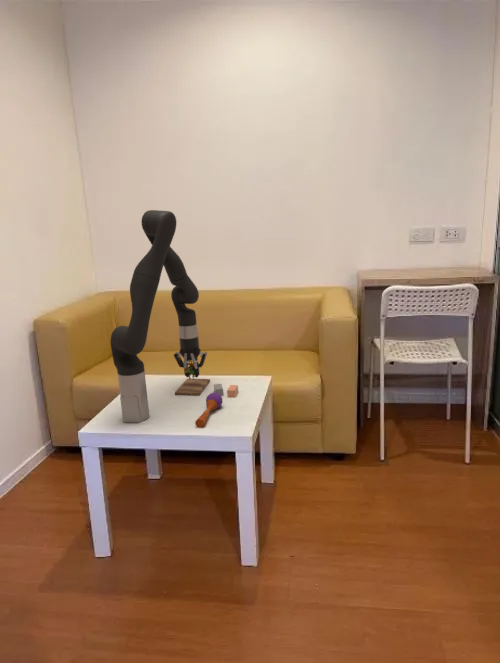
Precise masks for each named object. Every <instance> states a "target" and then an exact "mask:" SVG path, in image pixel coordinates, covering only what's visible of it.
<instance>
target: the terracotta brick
mask: <svg viewBox="0 0 500 663" xmlns="http://www.w3.org/2000/svg"><path fill="white" fill-rule="evenodd" d="M238 393H239V385H238V384H230V385H229V387H228V388H227V390H226V394H227V398H236V396H237V395H238Z"/></svg>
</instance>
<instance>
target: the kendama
mask: <svg viewBox="0 0 500 663" xmlns="http://www.w3.org/2000/svg"><path fill="white" fill-rule="evenodd" d="M205 401H206V402H205V404H206V410H204V411H203V413H202V414H201V415H200V416H199V417H197V419H196V420H195V423H194V424H195V426H196V427H197V428H204V427H205V425H206V422H207V419H208V416H209V415H210V412H211V411H214V410H217V409H219V408H220V407H221V406H222V404H223V396H221V395H220V394H218V393H215V392H211V393H209V394H208V395H207V396H206V399H205Z"/></svg>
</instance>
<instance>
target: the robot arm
mask: <svg viewBox="0 0 500 663" xmlns="http://www.w3.org/2000/svg"><path fill="white" fill-rule="evenodd" d="M140 223H141V228H142V230H143V232H144V234H145V236H146V238H147V239H148V241H149V242H150V244H151V247H150V249H149V250H148V251H147V253H146V254H145V255H144V256H143V257H142V258H141V260H140V261H139V262H138V264H137V265H136V266H135V268H134V270H133V273H132V278H131V280H130V285H129V293H130V296H129V297H130V301H131V310H132V311H131V317H130V321H129V324H128V325H127V326H126V325H119V326H116V327H115V328H113V331H112V332H111V335H110V349H111V354H112V355H111V356H112V359H113V364H114V367H115V369H116V372H117V378H118V380H117V381H118V388H119V396H120V406H121V416H122V422H123V423H138V424H139V423H141V422H143V421H145V420H147V419H148V418H149V417H150V409H149V408H150V407H149V399H148V397H149V396H148V389H147V381H146V380H147V379H146V371H145V364H144V362H143V361H142V360H141V359H140V358H139V357H138V355H139V354H140V353H141V352H142V351H143V350H144V348H145V346H146V343H147V338H148V332H149V325H150V320H151V315H152V314H151V313H152V310H153V307H154V302H155V298H156V295H157V292H158V288H159V284H160V280H161V276H162V271H163V268H164V270H165V272H166V274H167V277H168V279H169V282H170V284H171V285H173V286H174V287H173V288H172V290H171V294H170V295H171V301H172V303H173V306H174V308H175V312H176V314H177V319H178V338H179V349H180V350H179V351H178V352H175V353H174V354H173V357H174V359H175V361H176V362H177V364H178V367H179V368H183V370H184V372H185V370H186V369H187V368H188V367H189V365H188V364H189V360H191V361H192V363H193V364H194V367H195V369H194V370H195V375H194V376H195V377H194V378H198V377H199V376H200V368H202V367H203V366H204V364H205V361H206V359H207V356H208V353H207V352H206V351H204V352H203V351H201V349H200V341H199V330H198V329H199V328H198V325H197V315H196V311H195V310H194V309H192V308H189V307H188V306H187V305H193V304H196V303H197V302H198V300H199V296H200V295H199V294H200V293H199V290H198V287H197V286H196V284H195V283H194V282H193V280H192V279H191V278H190V276H189V275H188V272H187V271H186V270H187V269H186V267H185V265H184V262H183V261H182V259H181V257H180V256H179V255H178V253H177V252H176V251H175V250H174V248H172V247H171V244H172V242H173V238H174V236H175V233H176V229H177V217H176V215H175V213H174V212H172V211H169V210H156V209H155V210H153V209H151V210H147V211H145V212H143V215H142V216H141V222H140ZM199 356H200V358H201V359H200V361H199V358H198V357H199ZM182 358H183V359H182ZM188 369H189V368H188ZM184 372H183V373H184ZM184 376H185V377H186V378H189V375H188V373H184Z"/></svg>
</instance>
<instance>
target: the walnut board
mask: <svg viewBox="0 0 500 663" xmlns="http://www.w3.org/2000/svg"><path fill="white" fill-rule="evenodd" d="M194 379H195V380H194ZM194 379H193V378H192V379H190V380H189V378H186V379H185V380H184V381H183V382H182V384H181V385H180V386H179V387H178V388H177V389H176V391H175V392H174V395H175V396H196V397H198V396H201V394H202V393H203V392H204V391H205V389H206V387H207V386H209V384H210V382H211V378H194Z"/></svg>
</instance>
